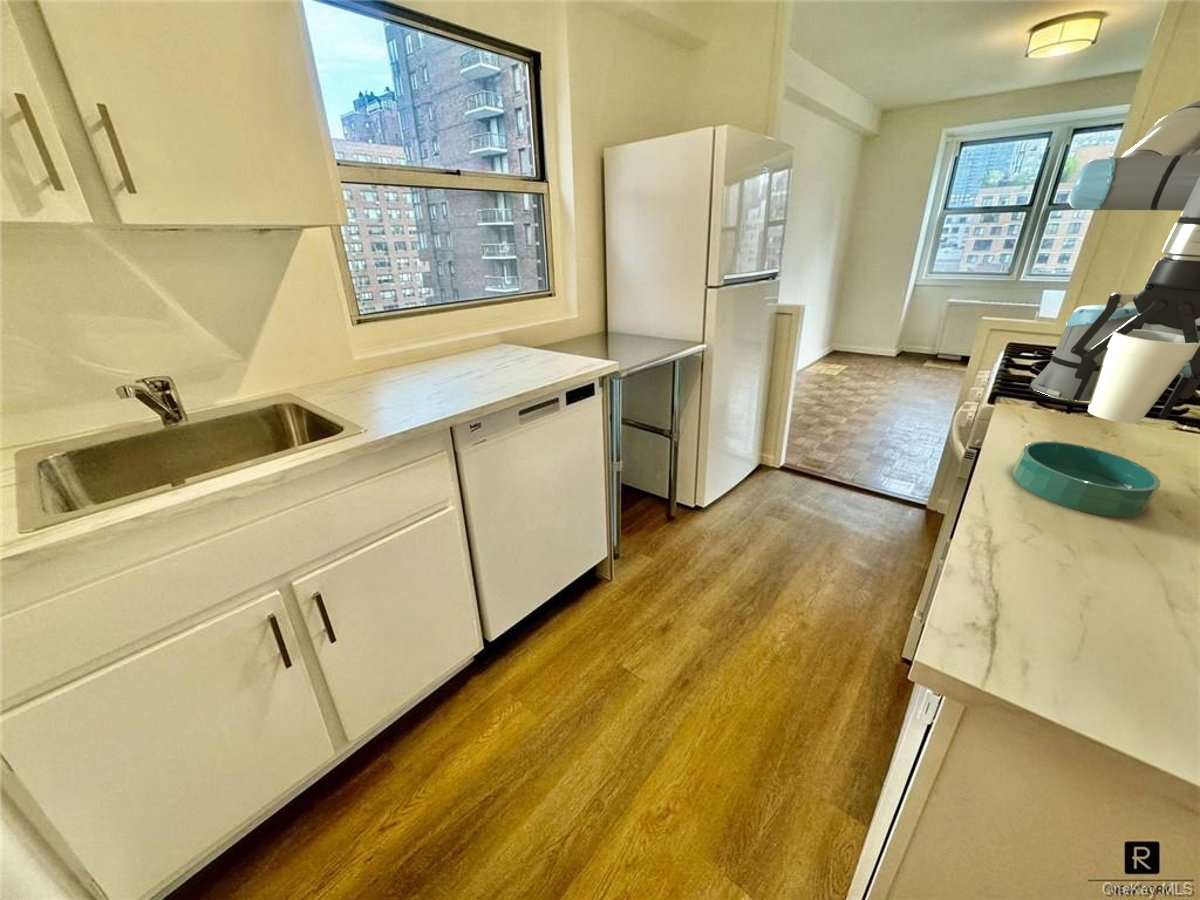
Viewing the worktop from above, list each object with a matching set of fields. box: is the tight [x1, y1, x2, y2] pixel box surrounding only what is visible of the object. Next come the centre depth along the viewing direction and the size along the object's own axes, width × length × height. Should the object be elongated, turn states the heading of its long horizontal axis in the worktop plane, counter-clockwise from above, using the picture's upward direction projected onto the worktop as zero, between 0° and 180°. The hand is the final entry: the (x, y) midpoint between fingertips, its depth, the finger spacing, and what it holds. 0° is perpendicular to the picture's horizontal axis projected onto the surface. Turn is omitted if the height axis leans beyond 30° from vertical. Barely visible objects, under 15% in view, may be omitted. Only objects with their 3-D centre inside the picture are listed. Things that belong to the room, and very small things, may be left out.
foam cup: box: [1087, 329, 1200, 424], centre depth 76 cm, size 10×9×13 cm
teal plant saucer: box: [1012, 440, 1162, 518], centre depth 84 cm, size 17×17×5 cm
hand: (1118, 406), depth 78 cm, fingers closed on foam cup, 9 cm apart
